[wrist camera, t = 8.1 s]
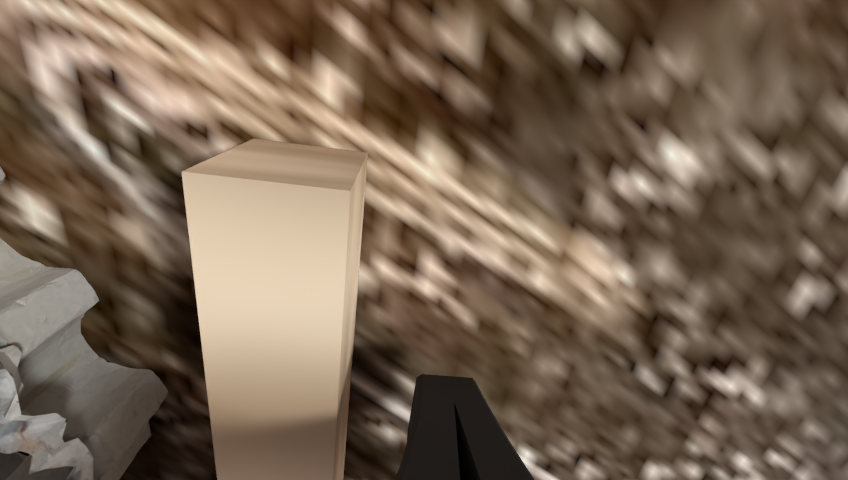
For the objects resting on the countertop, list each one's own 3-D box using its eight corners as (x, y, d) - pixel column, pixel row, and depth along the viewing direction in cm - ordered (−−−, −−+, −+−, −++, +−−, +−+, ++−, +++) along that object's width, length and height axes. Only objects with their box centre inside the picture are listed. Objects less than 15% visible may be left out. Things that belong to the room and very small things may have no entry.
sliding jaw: (343, 478, 13) (326, 587, 10) (267, 474, 13) (229, 584, 10) (368, 152, 9) (350, 190, 6) (253, 138, 9) (182, 171, 6)
